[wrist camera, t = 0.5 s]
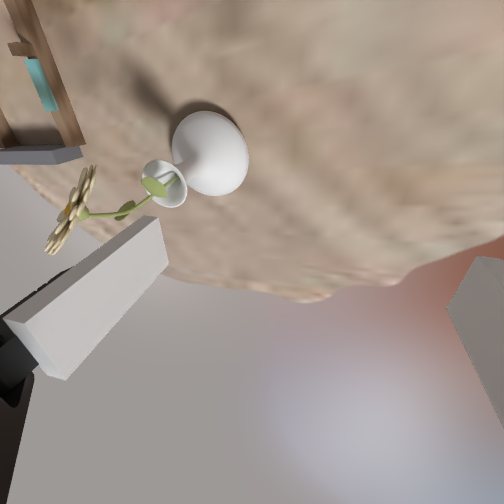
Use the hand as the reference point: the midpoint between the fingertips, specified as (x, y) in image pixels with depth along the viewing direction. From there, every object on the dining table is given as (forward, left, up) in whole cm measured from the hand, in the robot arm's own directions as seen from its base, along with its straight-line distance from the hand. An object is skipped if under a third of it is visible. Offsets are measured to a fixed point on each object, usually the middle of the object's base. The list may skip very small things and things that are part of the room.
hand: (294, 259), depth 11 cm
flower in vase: (+2, -16, -27) cm, 31 cm away
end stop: (+1, -45, -27) cm, 53 cm away
